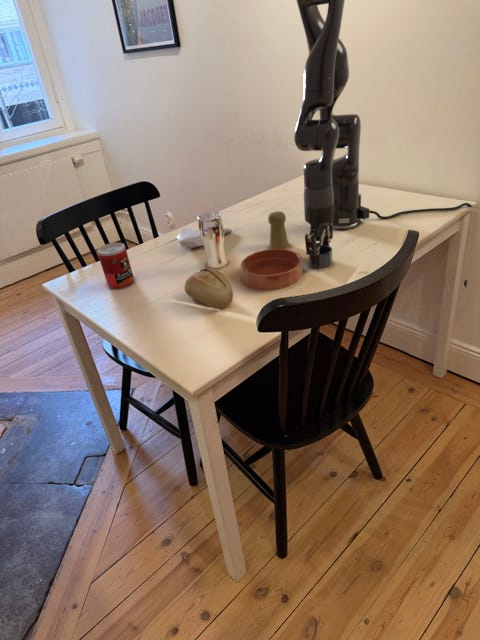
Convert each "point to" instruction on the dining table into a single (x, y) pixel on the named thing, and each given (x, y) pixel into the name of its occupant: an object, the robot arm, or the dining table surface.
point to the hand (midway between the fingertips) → (320, 261)
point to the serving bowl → (272, 269)
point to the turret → (192, 237)
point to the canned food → (115, 265)
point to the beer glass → (212, 238)
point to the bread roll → (210, 288)
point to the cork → (277, 230)
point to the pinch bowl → (324, 257)
